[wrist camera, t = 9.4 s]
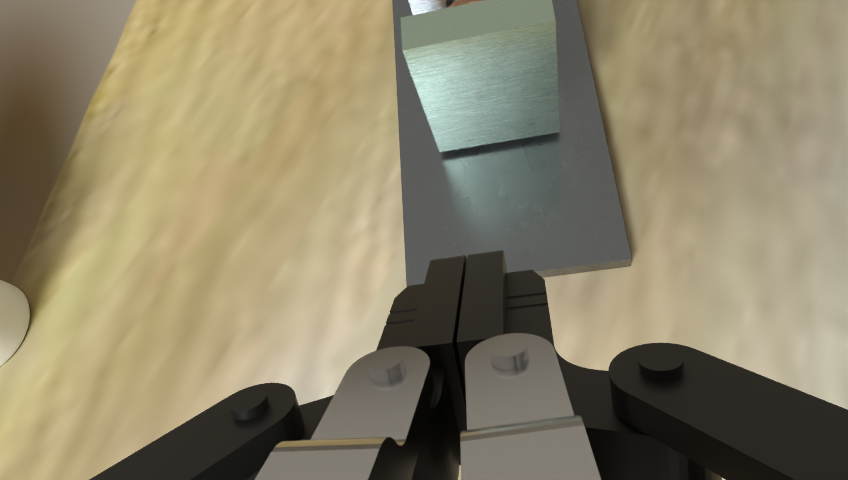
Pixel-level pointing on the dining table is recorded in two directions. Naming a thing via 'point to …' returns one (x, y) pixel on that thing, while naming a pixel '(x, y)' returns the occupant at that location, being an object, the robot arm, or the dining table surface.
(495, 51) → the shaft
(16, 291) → the mug
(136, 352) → the dining table surface
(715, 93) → the dining table surface
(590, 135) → the bearing block
